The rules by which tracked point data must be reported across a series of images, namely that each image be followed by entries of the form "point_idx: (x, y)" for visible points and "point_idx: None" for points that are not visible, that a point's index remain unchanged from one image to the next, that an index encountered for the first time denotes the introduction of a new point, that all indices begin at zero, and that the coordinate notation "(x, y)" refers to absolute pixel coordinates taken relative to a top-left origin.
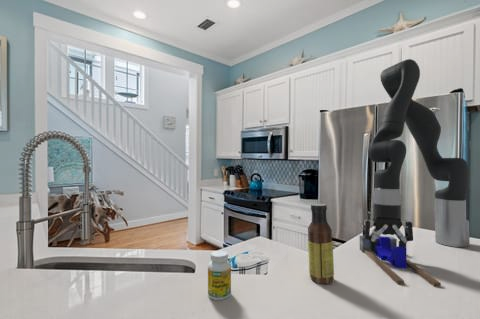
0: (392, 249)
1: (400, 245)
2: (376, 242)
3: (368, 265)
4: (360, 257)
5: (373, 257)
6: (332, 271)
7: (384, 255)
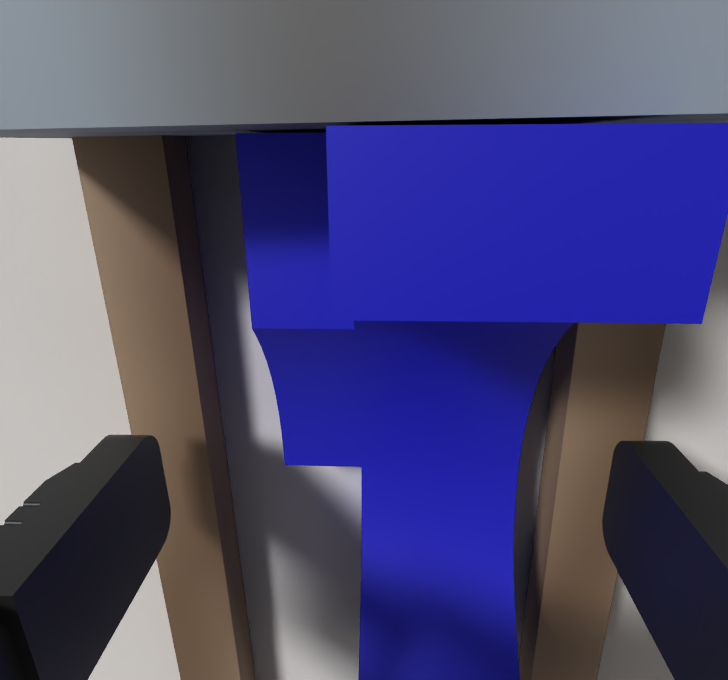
0: None
1: (687, 604)
2: (284, 128)
3: None
4: (18, 380)
5: None
6: None
7: (333, 460)
